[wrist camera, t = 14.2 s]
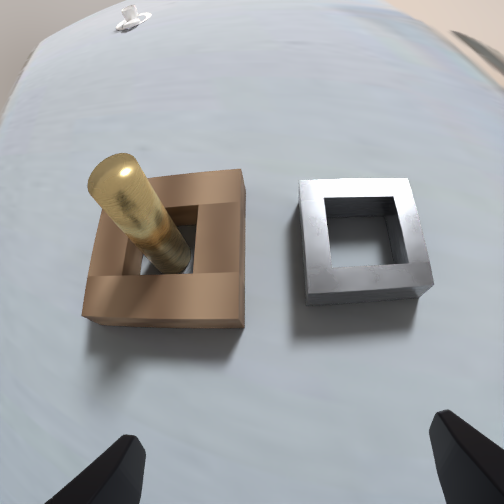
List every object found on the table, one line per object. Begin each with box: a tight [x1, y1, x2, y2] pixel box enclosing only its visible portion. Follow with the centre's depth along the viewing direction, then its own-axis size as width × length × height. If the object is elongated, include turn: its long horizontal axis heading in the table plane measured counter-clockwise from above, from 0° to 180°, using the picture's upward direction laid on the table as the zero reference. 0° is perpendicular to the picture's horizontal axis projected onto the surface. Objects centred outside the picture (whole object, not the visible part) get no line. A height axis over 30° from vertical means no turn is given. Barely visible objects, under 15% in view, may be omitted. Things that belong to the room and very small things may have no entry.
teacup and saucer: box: [116, 5, 151, 30], centre depth 49 cm, size 9×8×4 cm
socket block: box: [299, 178, 434, 306], centre depth 23 cm, size 9×9×3 cm
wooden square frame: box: [82, 169, 246, 328], centre depth 25 cm, size 12×12×3 cm
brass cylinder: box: [88, 153, 191, 274], centre depth 21 cm, size 3×3×11 cm
